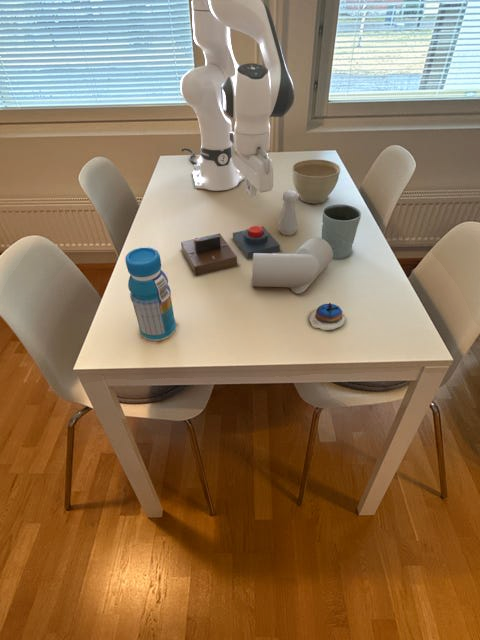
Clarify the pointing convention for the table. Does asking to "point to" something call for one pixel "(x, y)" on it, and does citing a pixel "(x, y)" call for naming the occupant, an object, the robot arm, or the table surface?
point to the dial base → (209, 257)
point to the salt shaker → (288, 213)
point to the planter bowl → (315, 179)
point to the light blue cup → (340, 228)
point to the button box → (255, 243)
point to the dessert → (327, 317)
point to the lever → (207, 243)
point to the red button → (255, 231)
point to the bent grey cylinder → (292, 266)
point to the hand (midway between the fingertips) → (251, 194)
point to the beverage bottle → (150, 294)
